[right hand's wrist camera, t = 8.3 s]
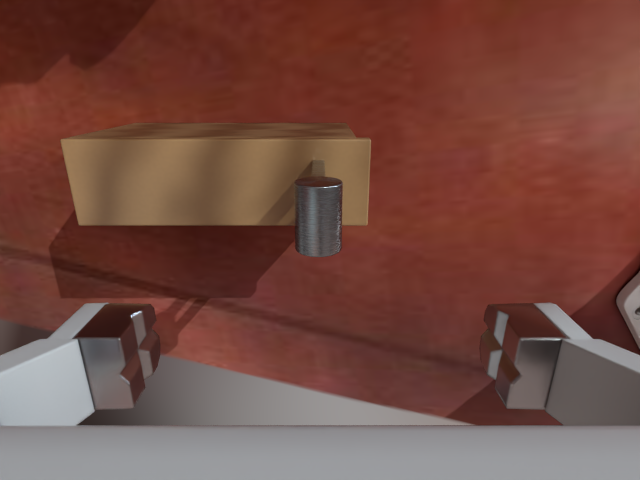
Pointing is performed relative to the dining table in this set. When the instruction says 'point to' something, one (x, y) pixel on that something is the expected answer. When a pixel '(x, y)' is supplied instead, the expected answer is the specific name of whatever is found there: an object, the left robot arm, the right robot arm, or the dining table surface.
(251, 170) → the lid
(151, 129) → the brown wooden rectangular box
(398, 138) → the dining table surface
